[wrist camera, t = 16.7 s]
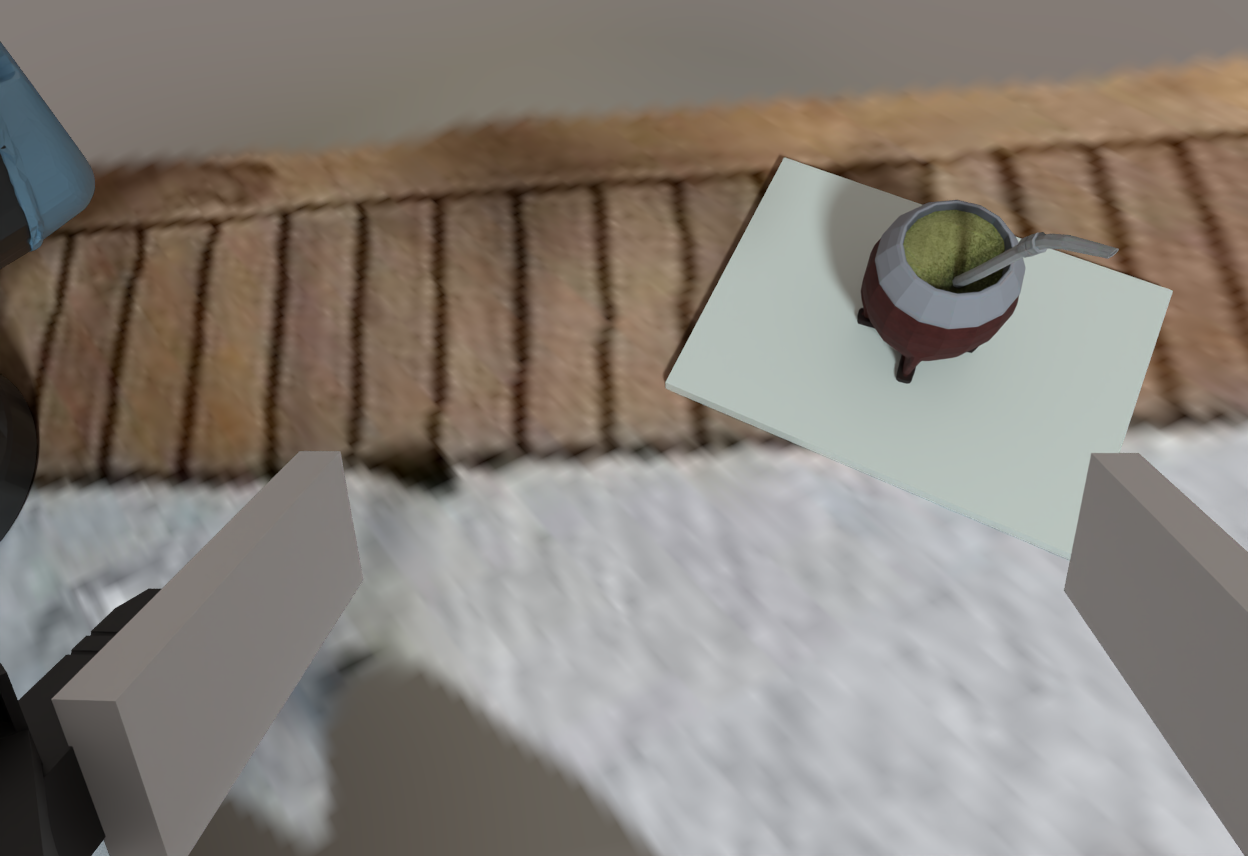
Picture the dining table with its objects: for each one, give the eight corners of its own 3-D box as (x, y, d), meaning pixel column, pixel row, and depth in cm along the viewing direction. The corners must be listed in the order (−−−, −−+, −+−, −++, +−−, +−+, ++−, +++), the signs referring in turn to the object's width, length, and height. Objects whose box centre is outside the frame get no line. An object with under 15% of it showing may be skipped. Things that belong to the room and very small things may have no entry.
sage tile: (665, 388, 47) (665, 382, 46) (783, 166, 51) (784, 157, 51) (1077, 563, 42) (1084, 559, 41) (1165, 298, 46) (1172, 290, 46)
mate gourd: (866, 261, 48) (934, 52, 34) (1012, 297, 46) (1147, 93, 32) (831, 378, 45) (890, 204, 31) (985, 420, 44) (1119, 257, 30)
